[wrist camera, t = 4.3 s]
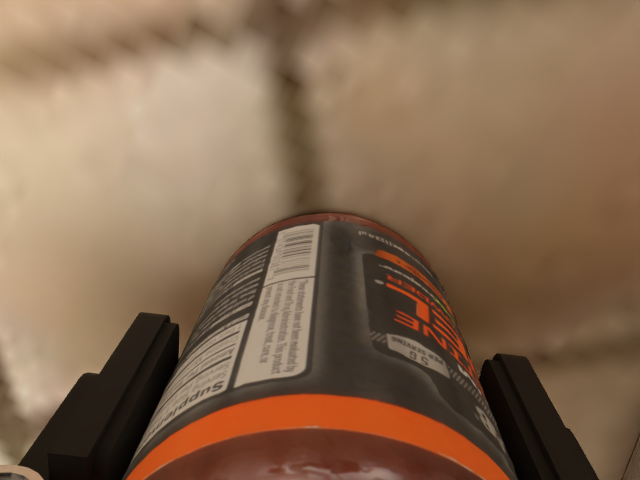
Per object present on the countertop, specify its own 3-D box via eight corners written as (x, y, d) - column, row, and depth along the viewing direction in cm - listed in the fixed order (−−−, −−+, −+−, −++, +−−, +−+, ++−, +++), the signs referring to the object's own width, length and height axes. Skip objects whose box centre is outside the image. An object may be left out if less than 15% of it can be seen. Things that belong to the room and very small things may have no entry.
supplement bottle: (490, 331, 15) (865, 1094, 4) (311, 444, 16) (269, 1223, 6) (347, 152, 13) (393, 674, 3) (163, 296, 15) (-266, 997, 4)
